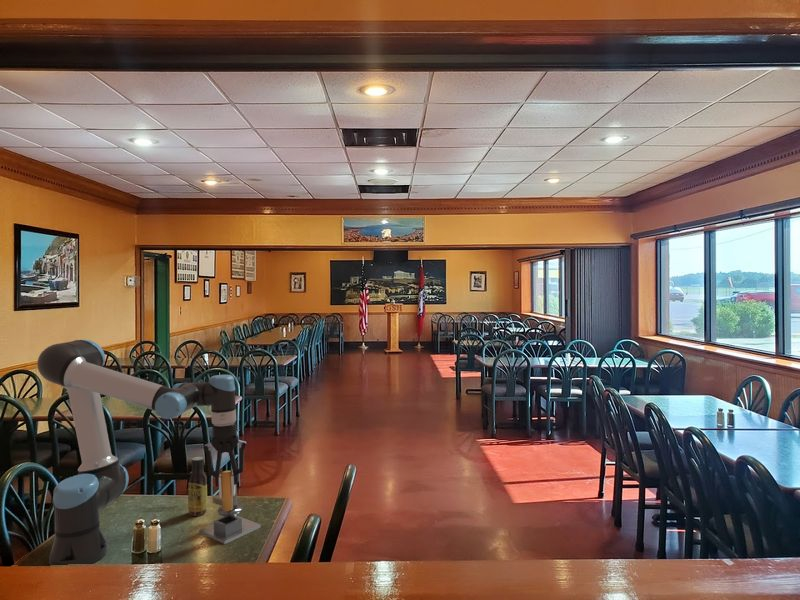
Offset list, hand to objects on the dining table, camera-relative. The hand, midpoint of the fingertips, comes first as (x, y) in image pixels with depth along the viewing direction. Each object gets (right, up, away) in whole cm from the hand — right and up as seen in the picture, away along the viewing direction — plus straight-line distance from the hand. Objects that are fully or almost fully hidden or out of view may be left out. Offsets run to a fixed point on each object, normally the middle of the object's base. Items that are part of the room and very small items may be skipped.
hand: (227, 495), depth 177 cm
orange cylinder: (0, -5, 0) cm, 5 cm away
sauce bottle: (-16, -13, +18) cm, 28 cm away
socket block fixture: (-2, -13, +5) cm, 14 cm away
